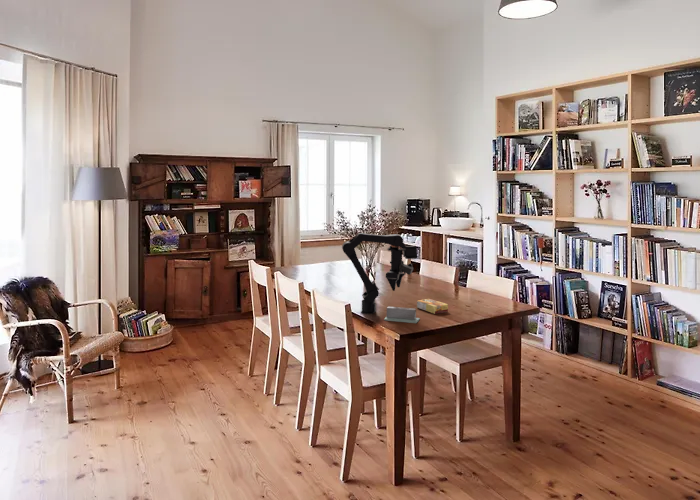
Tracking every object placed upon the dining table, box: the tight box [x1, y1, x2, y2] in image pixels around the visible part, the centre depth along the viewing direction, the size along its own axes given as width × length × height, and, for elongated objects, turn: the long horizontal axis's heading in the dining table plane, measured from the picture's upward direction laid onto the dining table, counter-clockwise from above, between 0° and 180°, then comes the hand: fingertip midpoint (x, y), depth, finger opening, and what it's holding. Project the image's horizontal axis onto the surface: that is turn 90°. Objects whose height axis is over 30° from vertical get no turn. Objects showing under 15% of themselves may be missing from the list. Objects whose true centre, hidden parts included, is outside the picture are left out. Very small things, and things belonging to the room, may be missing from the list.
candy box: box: [416, 298, 449, 315], centre depth 283 cm, size 9×4×15 cm
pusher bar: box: [386, 306, 417, 320], centre depth 264 cm, size 14×3×5 cm, turn 71°
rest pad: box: [383, 316, 421, 324], centre depth 264 cm, size 16×7×1 cm, turn 71°
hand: (396, 289), depth 278 cm, fingers open, 9 cm apart
